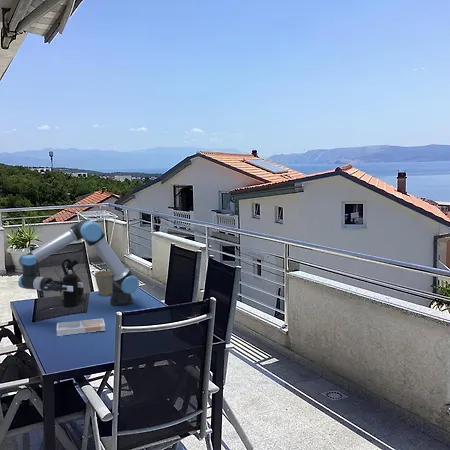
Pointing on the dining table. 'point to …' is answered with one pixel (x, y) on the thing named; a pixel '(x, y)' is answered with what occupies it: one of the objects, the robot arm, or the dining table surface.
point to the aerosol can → (70, 296)
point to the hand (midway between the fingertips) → (77, 287)
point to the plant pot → (104, 282)
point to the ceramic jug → (70, 267)
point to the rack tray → (80, 327)
